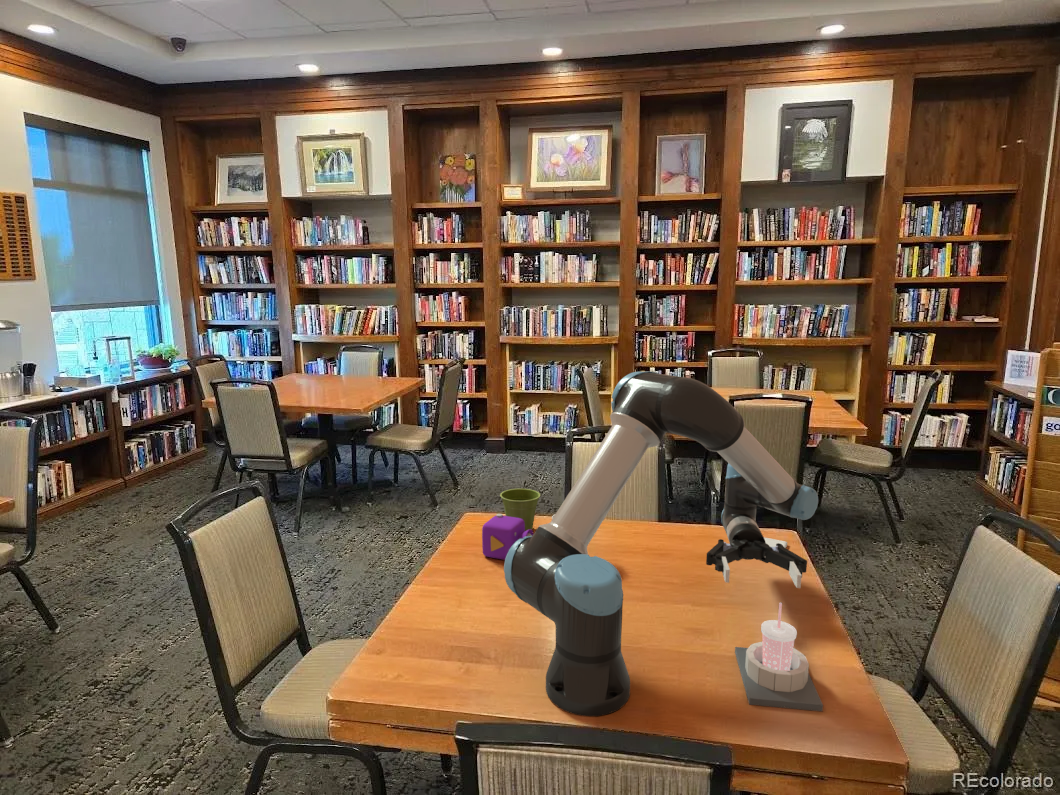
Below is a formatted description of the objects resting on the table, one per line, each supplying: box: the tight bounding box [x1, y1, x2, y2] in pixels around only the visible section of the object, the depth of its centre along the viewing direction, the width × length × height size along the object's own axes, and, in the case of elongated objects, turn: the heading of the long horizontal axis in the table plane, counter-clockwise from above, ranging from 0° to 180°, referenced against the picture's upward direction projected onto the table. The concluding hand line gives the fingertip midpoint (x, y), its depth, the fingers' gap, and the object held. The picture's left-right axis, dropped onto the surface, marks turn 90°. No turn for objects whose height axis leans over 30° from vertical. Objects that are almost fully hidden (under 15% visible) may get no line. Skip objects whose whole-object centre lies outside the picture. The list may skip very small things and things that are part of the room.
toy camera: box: [481, 513, 534, 561], centre depth 171 cm, size 11×14×10 cm
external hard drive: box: [763, 536, 788, 557], centre depth 174 cm, size 2×8×12 cm
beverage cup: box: [760, 602, 798, 671], centre depth 115 cm, size 6×6×14 cm
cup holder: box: [734, 641, 824, 712], centre depth 116 cm, size 12×16×4 cm
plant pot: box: [499, 488, 541, 531], centre depth 187 cm, size 12×12×11 cm
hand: (763, 578), depth 126 cm, fingers open, 13 cm apart
